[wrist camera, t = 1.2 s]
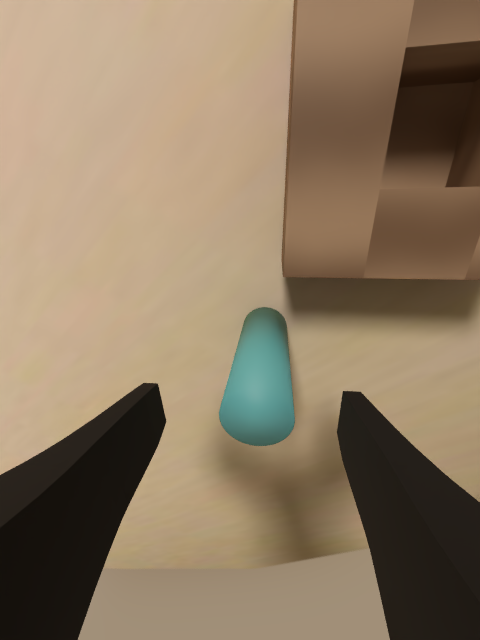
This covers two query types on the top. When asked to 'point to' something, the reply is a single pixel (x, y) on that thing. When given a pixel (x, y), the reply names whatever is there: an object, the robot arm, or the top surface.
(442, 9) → the socket block
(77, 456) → the robot arm
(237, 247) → the top surface
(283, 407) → the peg
